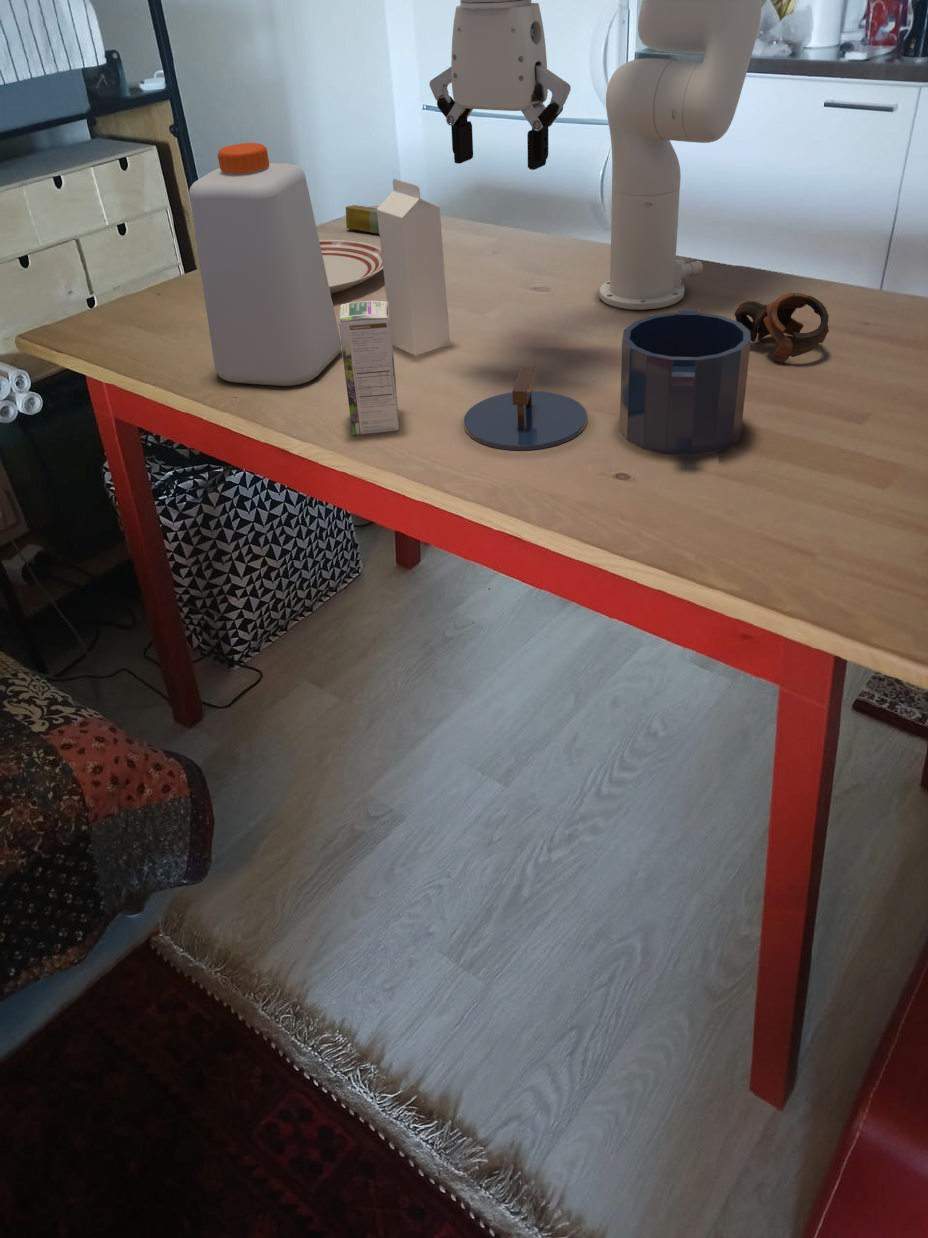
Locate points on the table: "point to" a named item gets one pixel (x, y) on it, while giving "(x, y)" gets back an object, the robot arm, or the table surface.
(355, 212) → the medication box
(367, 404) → the syrup box
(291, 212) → the plastic bottle
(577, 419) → the lid
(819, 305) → the rusty metal shackles
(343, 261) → the dinner plate
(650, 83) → the robot arm
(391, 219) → the milk
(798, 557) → the table surface
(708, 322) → the crock
